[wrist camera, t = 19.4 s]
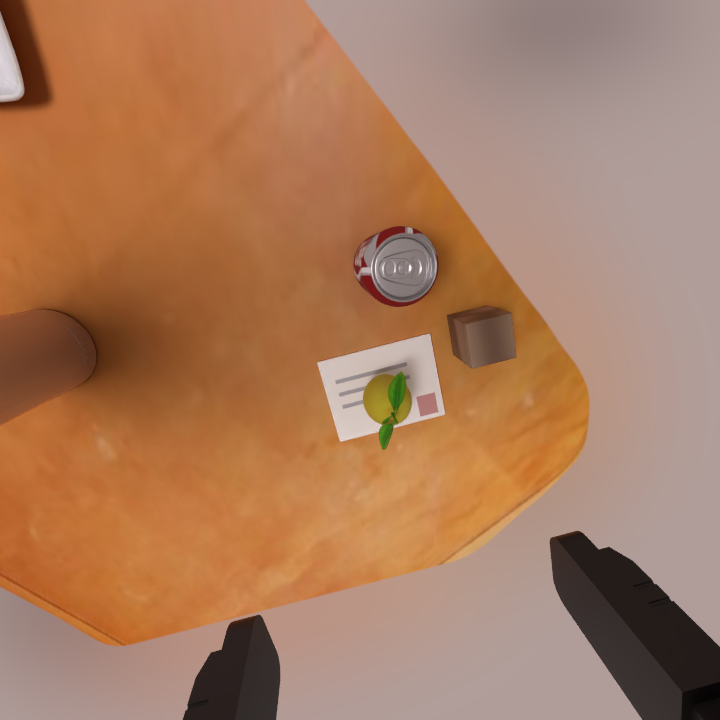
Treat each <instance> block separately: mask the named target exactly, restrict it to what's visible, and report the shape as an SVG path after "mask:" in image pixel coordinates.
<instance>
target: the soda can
mask: <svg viewBox="0 0 720 720" xmlns="http://www.w3.org/2000/svg"><path fill="white" fill-rule="evenodd" d="M354 273H355V276H356V278H357V281H358V282H359V284H360V285H361V286H362V287H363V288H364V289H365V290H366V291H367V292H368V293H370V294H371V295H372V296H373V297H374V298H375V299H377V300H378V301H380V302H381V303H383V304H386V305H389V306H394V307H403V306H408V305H411V304H414V303H416V302H418V301H419V300H421V299H422V298H423V297H424V296H426V295H427V293H428V292H429V291H430V290H431V288H432V287H433V285H434V283H435V280H436V277H437V273H438V258H437V253H436V251H435V248H434V246H433V244H432V243H431V241H430V240H429V239H428V238H427V237H426V236H425V235H424V234H423V233H421V232H420V231H418V230H416V229H413V228H410V227H402V226H400V227H392V228H389V229H386V230H384V231H382V232H379V233H377V234H375V235H373V236H371V237H369V238H368V239H366V240H365V241H364V242H363V243H362V244H361V245H360V246H359V248H358V250H357V252H356V254H355V258H354Z"/></svg>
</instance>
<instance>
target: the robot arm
mask: <svg viewBox="0 0 720 720" xmlns="http://www.w3.org/2000/svg"><path fill="white" fill-rule="evenodd" d="M95 365H96V349H95V346H94V343H93V340H92V339H91V337H90V335H89V334H88V332H87V331H86V330H85V329H84V328H83V326H82V325H81V324H79V323H78V322H77V321H76V320H74V319H73V318H71V317H69V316H67V315H65V314H63V313H60V312H57V311H53V310H46V309H42V310H32V311H26V312H21V313H15V314H10V315H3V316H0V425H2V424H4V423H6V422H8V421H10V420H12V419H14V418H16V417H18V416H20V415H22V414H24V413H25V412H27V411H29V410H31V409H33V408H35V407H37V406H39V405H41V404H43V403H45V402H47V401H49V400H51V399H53V398H55V397H57V396H59V395H61V394H62V393H64V392H66V391H68V390H70V389H72V388H74V387H76V386H78V385H80V384H82V383H83V382H84V381H86V380H87V379H88V378H89V377H90V375H91V374H92V372H93V370H94V368H95ZM550 550H551V559H552V571H553V579H554V584H555V587H556V590H557V592H558V594H559V597H560V599H561V601H562V602H563V604H564V606H565V607H566V609H567V610H568V612H569V613H570V614H571V616H572V618H573V619H574V620H575V622H576V623H577V625H578V626H579V628H580V629H581V631H582V632H583V634H584V635H585V637H586V638H587V639H588V641H589V642H590V644H591V645H592V647H593V648H594V650H595V651H596V653H597V654H598V656H599V657H600V658H601V660H602V661H603V663H604V664H605V666H606V667H607V669H608V670H609V672H610V673H611V674H612V676H613V677H614V679H615V680H616V682H617V683H618V685H619V686H620V687H621V689H622V690H623V692H624V693H625V695H626V696H627V698H628V699H629V701H630V702H631V704H632V705H633V707H634V708H635V709H636V711H637V712H638V714H639V715H640V717H641V718H642V720H720V647H719V646H718V645H717V644H716V643H715V642H714V641H713V640H712V639H711V638H710V637H709V636H708V635H707V634H706V633H705V632H704V631H703V630H702V629H701V628H700V627H699V626H698V625H697V624H696V623H695V622H694V621H693V620H692V619H691V618H690V617H689V616H688V615H687V614H686V613H685V612H684V611H683V610H682V609H681V608H680V607H679V606H678V605H677V604H676V603H675V602H674V601H671V600H670V598H669V596H668V595H667V594H666V593H665V592H664V591H663V590H662V589H661V588H660V587H659V586H658V585H657V584H654V583H653V581H652V579H651V578H650V577H648V575H646V573H644V572H643V571H642V570H641V569H640V568H639V567H638V566H637V565H636V564H635V563H634V562H633V561H632V560H630V559H629V558H627V557H625V556H623V555H622V554H620V553H618V552H617V551H615V550H613V549H612V548H610V547H607V548H603V549H600V550H599V549H598V548H597V547H596V546H595V545H594V544H593V543H592V542H591V541H590V540H589V539H588V538H587V537H586V536H585V535H584V534H583V533H582V532H580V531H575V532H571V533H567V534H563V535H560V536H556V537H552V538H551V539H550ZM279 685H280V664H279V658H278V654H277V651H276V649H275V646H274V644H273V642H272V639H271V637H270V635H269V632H268V630H267V627H266V625H265V623H264V620H263V618H262V617H261V615H256V616H253V617H248V618H245V619H241V620H237V621H233V622H231V623H230V624H229V626H228V629H227V631H226V636H225V639H224V643H223V647H222V650H219V651H216V652H212V653H211V654H210V655H209V657H208V658H207V660H206V662H205V663H204V665H203V667H202V669H201V670H200V672H199V673H198V675H197V677H196V679H195V682H194V686H193V689H192V692H191V695H190V698H189V701H188V709H187V710H186V711H185V714H184V718H183V720H276V714H277V705H278V696H279Z"/></svg>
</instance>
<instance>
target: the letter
mask: <svg viewBox="0 0 720 720" xmlns="http://www.w3.org/2000/svg"><path fill="white" fill-rule="evenodd" d="M317 364H318V367H319V371H320V374H321V377H322V381H323V384H324V388H325V391H326V395H327V398H328V402H329V405H330V408H331V412H332V415H333V419H334V422H335V426H336V429H337V432H338V436H339V439H340V442H342V441H346V440H349V439H353V438H357V437H361V436H365V435H369V434H372V433H376V432H379V429H380V427H381V426H382V425H381V424H379V423H377V422H375V421H374V420H373V419H372V418H370V417H369V415H368V414H367V412H366V410H365V408H364V404H363V393H364V389H365V388H366V386H367V384H368V383H369V382H370V381H371V380H372V379H373V378H375V377H376V376H378V375H383V374H388V375H393V376H396V375H397V374H398V373H400V372H401V371H402V373H403V374H404V376H405V378H406V385H407V387H408V389H409V391H410V393H411V398H412V406H411V410H410V413H409V415H408V416H407V418H406V419H405V420H404V421H403V422H401V423H399V424H397V425H394V427H393V428H395V427H399V426H403V425H407V424H411V423H414V422H418V421H422V420H426V419H430V418H434V417H437V416H441V415H445V411H444V405H443V400H442V395H441V389H440V384H439V379H438V373H437V368H436V363H435V357H434V352H433V347H432V341H431V336H430V333H428V334H424V335H420V336H416V337H412V338H408V339H405V340H401V341H397V342H393V343H389V344H385V345H381V346H377V347H374V348H370V349H366V350H362V351H358V352H354V353H350V354H346V355H342V356H339V357H335V358H331V359H327V360H323V361H319V362H317Z"/></svg>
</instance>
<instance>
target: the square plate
mask: <svg viewBox="0 0 720 720" xmlns="http://www.w3.org/2000/svg"><path fill="white" fill-rule="evenodd" d="M24 90H25V88H24V83H23V78H22V74H21V71H20V68H19V64H18V61H17V57H16V55H15V51H14V49H13V46H12V43H11V40H10V37H9V34H8V31H7V29H6V26H5V23H4V21H3V18H2V15H1V12H0V102H10V101H17V100H19V99H20V98H21V97H22V96H23V94H24Z"/></svg>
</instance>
